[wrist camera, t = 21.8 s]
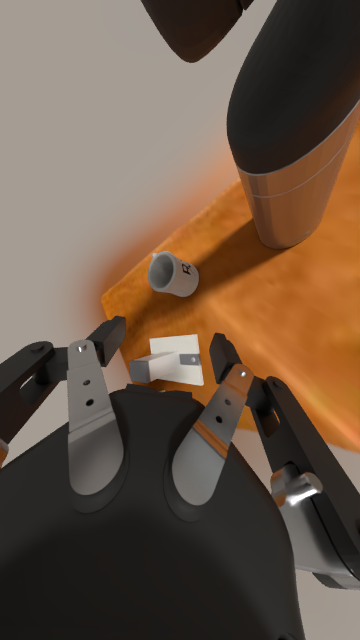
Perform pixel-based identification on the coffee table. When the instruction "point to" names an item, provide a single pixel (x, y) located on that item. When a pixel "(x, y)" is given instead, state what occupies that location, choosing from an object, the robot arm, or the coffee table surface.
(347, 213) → the coffee table surface
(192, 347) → the floor panel
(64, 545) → the robot arm
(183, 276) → the mug
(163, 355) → the grey two-tone block
